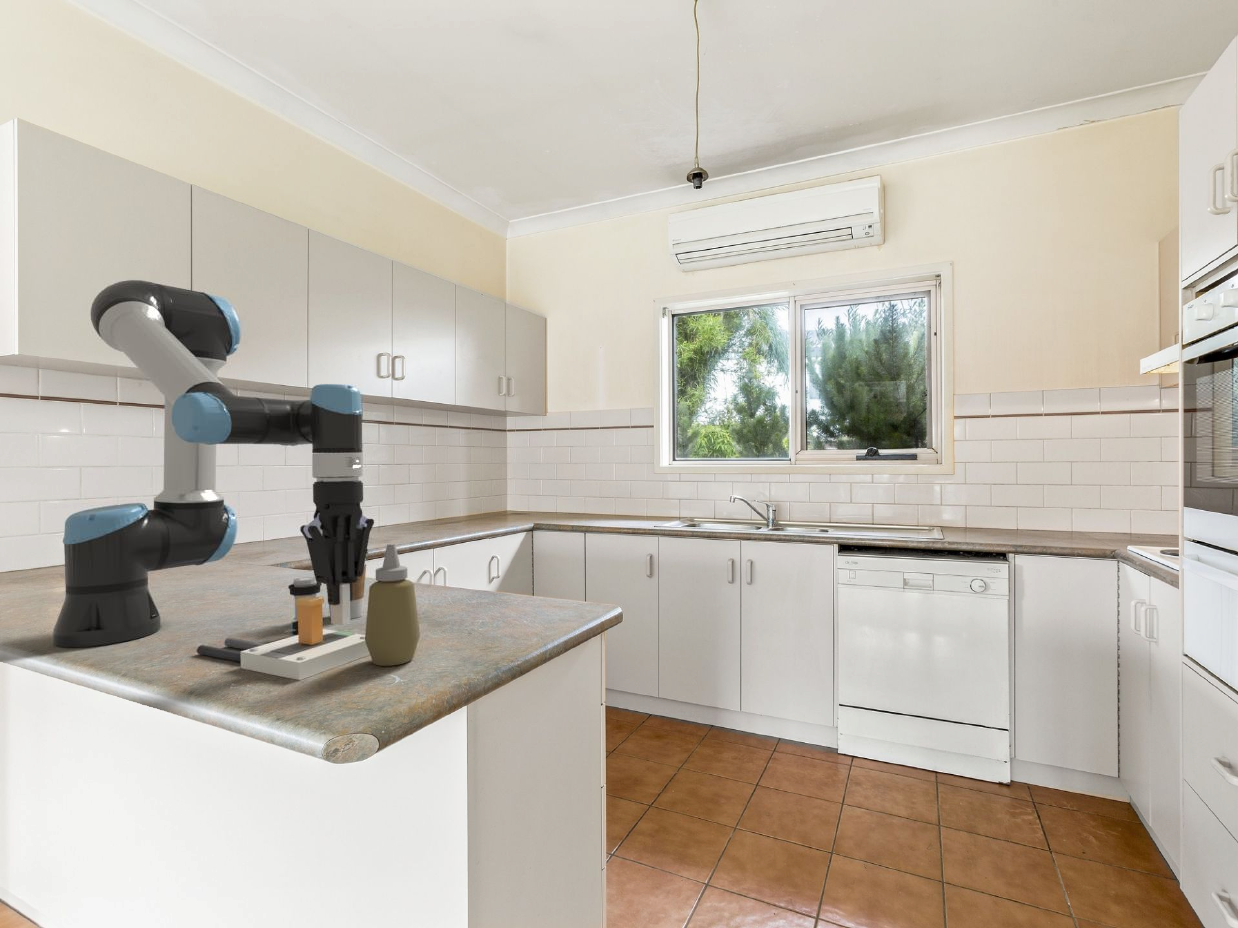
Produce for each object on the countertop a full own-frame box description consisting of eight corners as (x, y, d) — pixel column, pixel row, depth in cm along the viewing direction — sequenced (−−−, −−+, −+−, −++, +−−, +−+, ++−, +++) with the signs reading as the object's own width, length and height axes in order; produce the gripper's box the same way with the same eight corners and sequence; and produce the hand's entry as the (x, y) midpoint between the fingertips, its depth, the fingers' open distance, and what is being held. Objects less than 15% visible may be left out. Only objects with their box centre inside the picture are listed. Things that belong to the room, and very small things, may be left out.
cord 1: (196, 654, 103) (196, 646, 103) (205, 652, 104) (205, 643, 104) (247, 665, 97) (247, 656, 97) (256, 662, 98) (256, 653, 98)
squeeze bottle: (388, 673, 93) (386, 549, 92) (353, 664, 97) (351, 546, 97) (431, 657, 100) (429, 543, 99) (397, 650, 104) (395, 540, 104)
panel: (240, 668, 96) (240, 650, 96) (320, 642, 108) (320, 627, 108) (299, 680, 90) (299, 661, 90) (376, 652, 103) (376, 635, 103)
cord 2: (224, 647, 107) (224, 638, 107) (232, 644, 108) (232, 636, 108) (274, 656, 101) (274, 647, 101) (282, 654, 102) (282, 645, 102)
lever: (296, 642, 99) (295, 599, 99) (309, 638, 101) (309, 596, 101) (311, 645, 97) (310, 601, 97) (324, 641, 100) (324, 597, 100)
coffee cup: (358, 621, 122) (357, 543, 122) (314, 622, 123) (313, 544, 122) (375, 611, 131) (374, 538, 131) (335, 611, 131) (333, 538, 131)
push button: (293, 642, 109) (292, 584, 109) (275, 638, 112) (274, 581, 112) (328, 632, 115) (327, 577, 115) (310, 629, 118) (309, 575, 117)
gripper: (320, 481, 97) (323, 636, 97) (385, 478, 108) (387, 616, 109) (286, 481, 100) (289, 630, 100) (353, 478, 112) (356, 612, 112)
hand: (340, 623), depth 104 cm, fingers closed
